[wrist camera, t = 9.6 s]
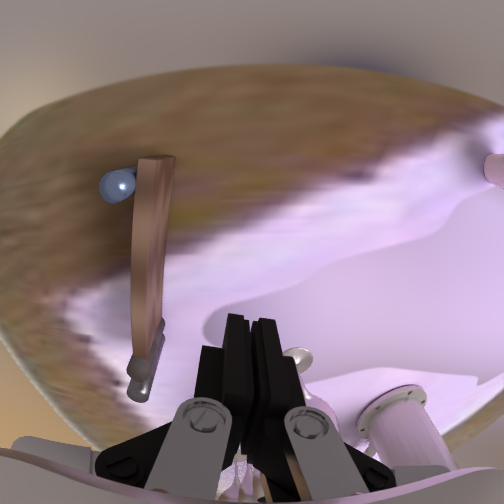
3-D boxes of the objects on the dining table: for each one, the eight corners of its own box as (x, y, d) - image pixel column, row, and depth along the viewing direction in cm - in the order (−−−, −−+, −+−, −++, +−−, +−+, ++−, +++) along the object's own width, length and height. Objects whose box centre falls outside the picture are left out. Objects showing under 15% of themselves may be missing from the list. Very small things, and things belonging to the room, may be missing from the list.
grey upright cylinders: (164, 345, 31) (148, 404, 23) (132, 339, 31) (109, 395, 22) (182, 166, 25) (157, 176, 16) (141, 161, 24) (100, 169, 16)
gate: (164, 331, 30) (149, 383, 22) (146, 328, 30) (127, 378, 22) (180, 157, 24) (158, 161, 17) (158, 155, 24) (128, 158, 16)
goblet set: (279, 341, 32) (303, 437, 19) (324, 350, 33) (361, 439, 20) (214, 460, 40) (213, 526, 28) (246, 464, 41) (251, 528, 29)
